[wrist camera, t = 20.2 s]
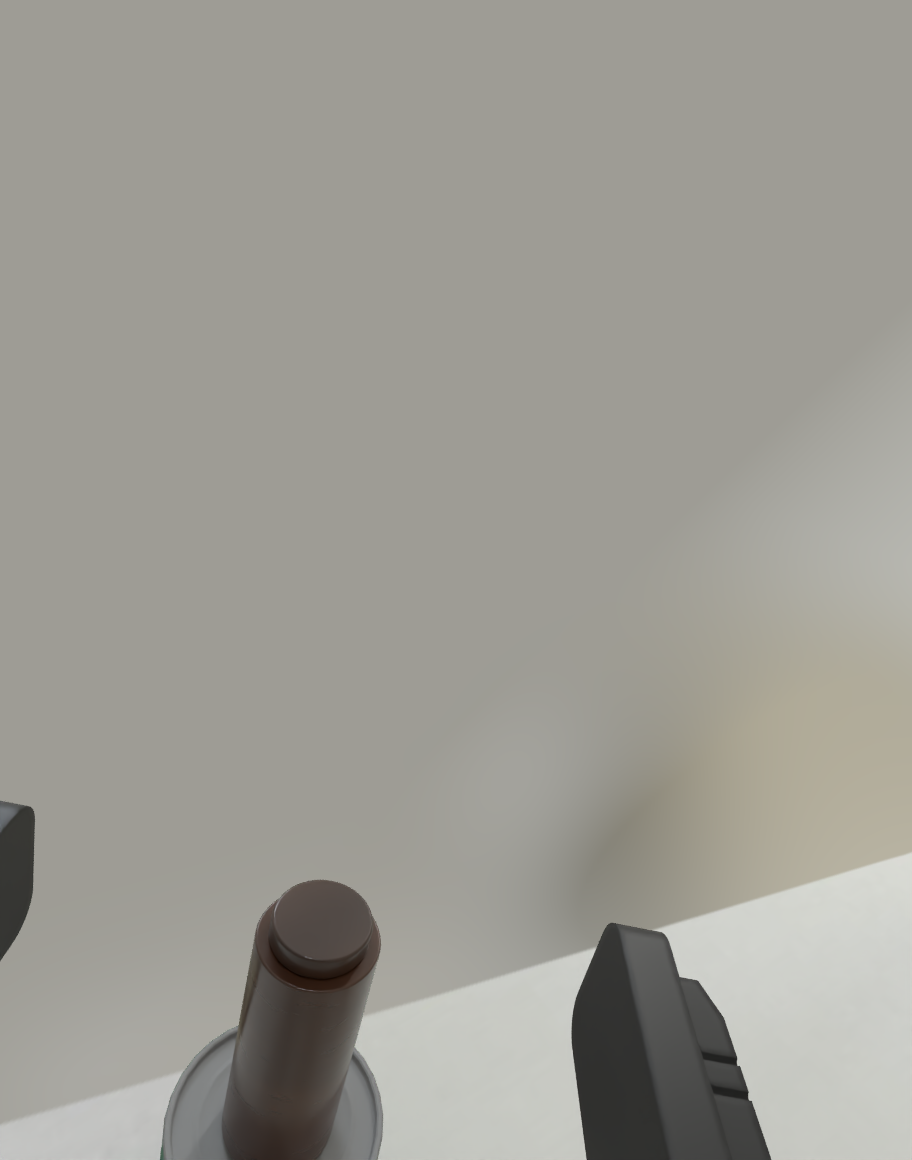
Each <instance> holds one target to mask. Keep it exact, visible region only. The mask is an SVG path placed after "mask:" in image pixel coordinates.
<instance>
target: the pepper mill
mask: <svg viewBox="0 0 912 1160" xmlns="http://www.w3.org/2000/svg"><path fill="white" fill-rule="evenodd" d="M380 947H381V939H380V933H379V929H378V926H377V924H376V922H375V920H374V918H373V916H372V914H371V911H370V908H369V906H368V905H367V903H366V902H365V900H364V899H363V898H362V897H361V896H360V895H359V894H358V893H357V892H355V891H354V890H353V889H351V888H350V887H347V886H346V885H343V884H341V883H338V882H334V881H328V880H312V881H307V882H303V883H300V884H297V885H295V886H293V887H292V888H290V889H289V890H287V891H286V892H285V893H284V894H283V895H282V896H281V897H280V898H279V899H278V900H276V901H275V902H274V903H272V904H271V905H270V906H269V907H268V908H267V910H266V911H265V912H264V913H263V915H262V916H261V918H260V920H259V922H258V925H257V928H256V933H255V938H254V944H253V949H252V955H251V960H250V966H249V971H248V976H247V982H246V988H245V993H244V999H243V1005H242V1010H241V1015H240V1021H239V1026H238V1032H237V1037H236V1043H235V1048H234V1054H233V1059H232V1065H231V1070H230V1076H229V1081H228V1087H227V1092H226V1098H225V1103H224V1109H223V1115H222V1134H223V1139H224V1142H225V1145H226V1147H227V1150H228V1152H229V1153H230V1155H231V1156H232V1158H233V1159H234V1160H316V1159H317V1158H318V1157H319V1155H320V1154H321V1153H322V1151H323V1150H324V1148H325V1146H326V1145H327V1143H328V1140H329V1138H330V1135H331V1132H332V1128H333V1124H334V1121H335V1117H336V1113H337V1109H338V1106H339V1102H340V1098H341V1095H342V1091H343V1087H344V1083H345V1080H346V1076H347V1072H348V1069H349V1065H350V1061H351V1058H352V1054H353V1050H354V1046H355V1043H356V1039H357V1035H358V1032H359V1028H360V1024H361V1021H362V1017H363V1013H364V1009H365V1005H366V1002H367V998H368V995H369V991H370V987H371V984H372V980H373V976H374V972H375V969H376V965H377V961H378V958H379V953H380Z"/></svg>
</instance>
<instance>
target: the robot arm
mask: <svg viewBox="0 0 912 1160" xmlns="http://www.w3.org/2000/svg"><path fill="white" fill-rule="evenodd" d="M34 827H35V816H34V811H33V809H32V808H31V807H29V806H24V805H18V804H14V803H9V802H3V801H0V960H1V959H2V958H3V956H4V955H5V953H6V952H7V950H8V949H9V947H10V946H11V944H12V943H13V941H14V940H15V938H16V936H17V935H18V933H19V931H20V929H21V927H22V925H23V923H24V920H25V918H26V915H27V912H28V909H29V906H30V903H31V898H32V893H33V866H34V865H33V864H34V863H33V862H34V829H35V828H34ZM572 1049H573V1057H574V1064H575V1072H576V1080H577V1088H578V1095H579V1103H580V1111H581V1119H582V1127H583V1134H584V1142H585V1150H586V1158H587V1160H771V1157H770V1154H769V1151H768V1148H767V1145H766V1142H765V1139H764V1136H763V1133H762V1130H761V1127H760V1124H759V1122H758V1119H757V1116H756V1113H755V1110H754V1107H753V1104H752V1101H749V1099H748V1093H749V1092H748V1089H747V1086H746V1083H745V1080H744V1077H743V1074H742V1071H741V1068H740V1066H737V1056H736V1053H735V1050H734V1047H733V1044H732V1041H731V1038H730V1035H729V1032H728V1029H727V1026H726V1023H725V1020H724V1018H723V1016H722V1015H721V1013H720V1012H719V1010H718V1009H717V1007H716V1006H715V1005H714V1003H713V1002H712V1000H711V999H710V997H709V996H708V995H707V993H706V992H705V990H704V989H703V987H702V986H701V984H700V983H699V982H698V981H697V980H692V979H686V978H681V977H679V974H678V971H677V967H676V964H675V961H674V957H673V954H672V950H671V947H670V944H669V941H668V939H667V937H666V936H665V935H664V934H663V933H662V932H657V931H652V930H646V929H641V928H636V927H631V926H625V925H621V924H616V923H610V924H608V925H607V927H606V928H605V930H604V932H603V934H602V936H601V939H600V941H599V944H598V946H597V948H596V951H595V953H594V956H593V958H592V960H591V963H590V965H589V968H588V970H587V972H586V975H585V977H584V980H583V982H582V984H581V987H580V989H579V992H578V994H577V997H576V1001H575V1005H574V1010H573V1017H572Z"/></svg>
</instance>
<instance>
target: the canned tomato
mask: <svg viewBox="0 0 912 1160" xmlns="http://www.w3.org/2000/svg"><path fill="white" fill-rule="evenodd" d="M238 1026H239V1025H238ZM238 1026H236V1027H234V1028H231V1029H229V1030H227V1031H226V1032H224V1033H223V1034H221V1035H220V1036H218V1037H217V1038H215V1039H214V1040H212V1041H211V1042H210V1043H209V1044H208V1045H206V1046H205V1047H204V1048H203V1049H202V1050H201V1051H200V1052H199V1053H198V1054H197V1055H196V1056H195V1057H194V1059H193V1060H192V1061H191V1062H190V1064H189V1065H188V1066H187V1068H186V1069H185V1071H184V1072H183V1073H182V1075H181V1077H180V1079H179V1081H178V1083H177V1085H176V1087H175V1089H174V1091H173V1093H172V1095H171V1098H170V1101H169V1105H168V1108H167V1112H166V1115H165V1118H164V1129H163V1139H162V1147H161V1155H160V1160H234V1159H233V1158H232V1156H231V1155H230V1153H229V1152H228V1150H227V1147H226V1145H225V1142H224V1139H223V1134H222V1115H223V1109H224V1103H225V1098H226V1092H227V1087H228V1081H229V1076H230V1070H231V1065H232V1059H233V1054H234V1048H235V1043H236V1037H237V1032H238ZM382 1130H383V1111H382V1104H381V1097H380V1093H379V1090H378V1087H377V1084H376V1081H375V1078H374V1075H373V1073H372V1072H371V1070H370V1068H369V1066H368V1065H367V1063H366V1061H365V1059H364V1058H363V1057H362V1056H361V1054H360V1053H359V1052H358V1051H357V1050H356V1048H355V1047H354V1050H353V1054H352V1058H351V1061H350V1065H349V1069H348V1072H347V1076H346V1080H345V1083H344V1087H343V1091H342V1095H341V1098H340V1102H339V1106H338V1109H337V1113H336V1117H335V1121H334V1124H333V1128H332V1132H331V1135H330V1138H329V1140H328V1143H327V1145H326V1146H325V1148H324V1150H323V1151H322V1153H321V1154H320V1155H319V1157H318V1158H317V1159H316V1160H377V1159H378V1155H379V1150H380V1146H381V1141H382Z"/></svg>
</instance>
